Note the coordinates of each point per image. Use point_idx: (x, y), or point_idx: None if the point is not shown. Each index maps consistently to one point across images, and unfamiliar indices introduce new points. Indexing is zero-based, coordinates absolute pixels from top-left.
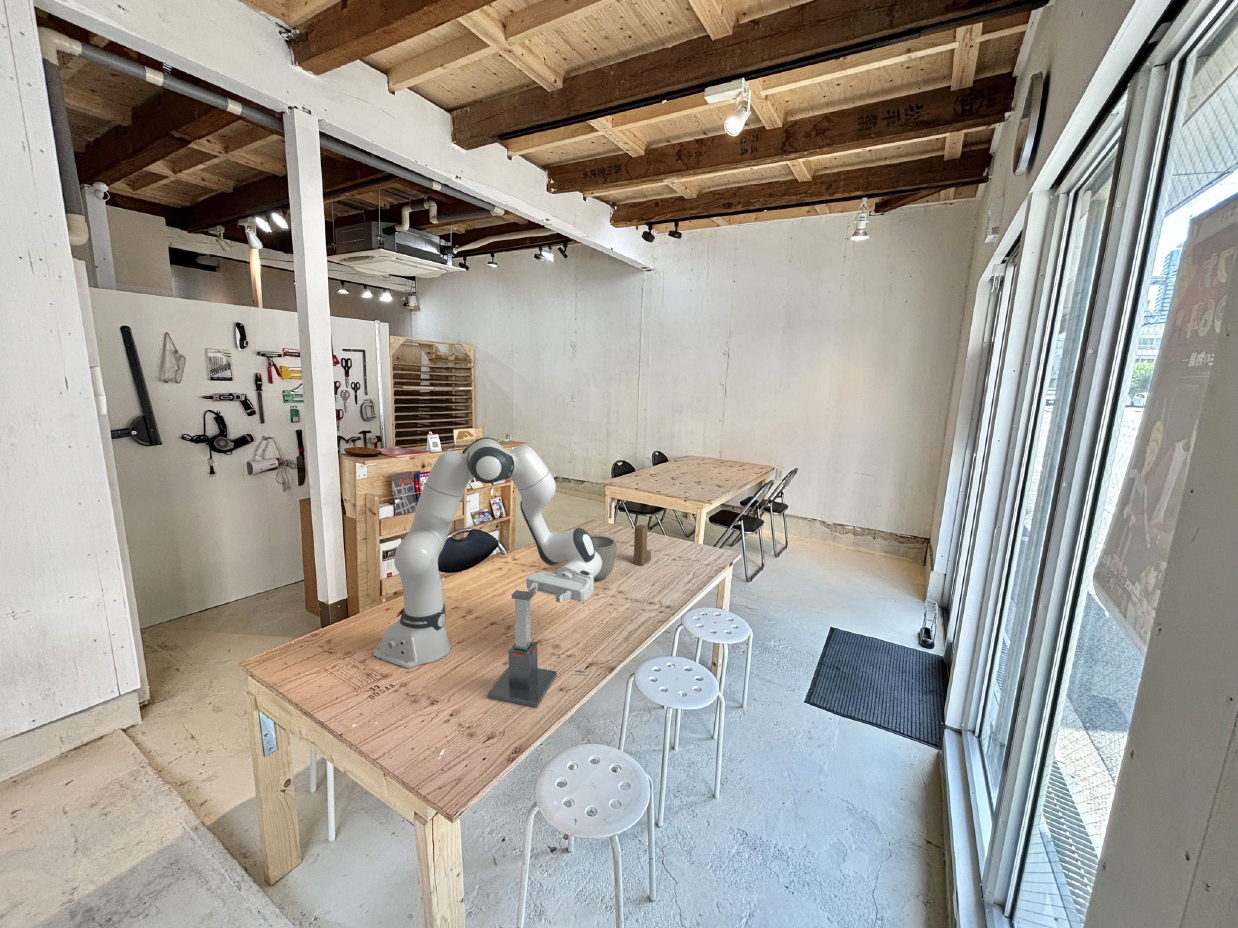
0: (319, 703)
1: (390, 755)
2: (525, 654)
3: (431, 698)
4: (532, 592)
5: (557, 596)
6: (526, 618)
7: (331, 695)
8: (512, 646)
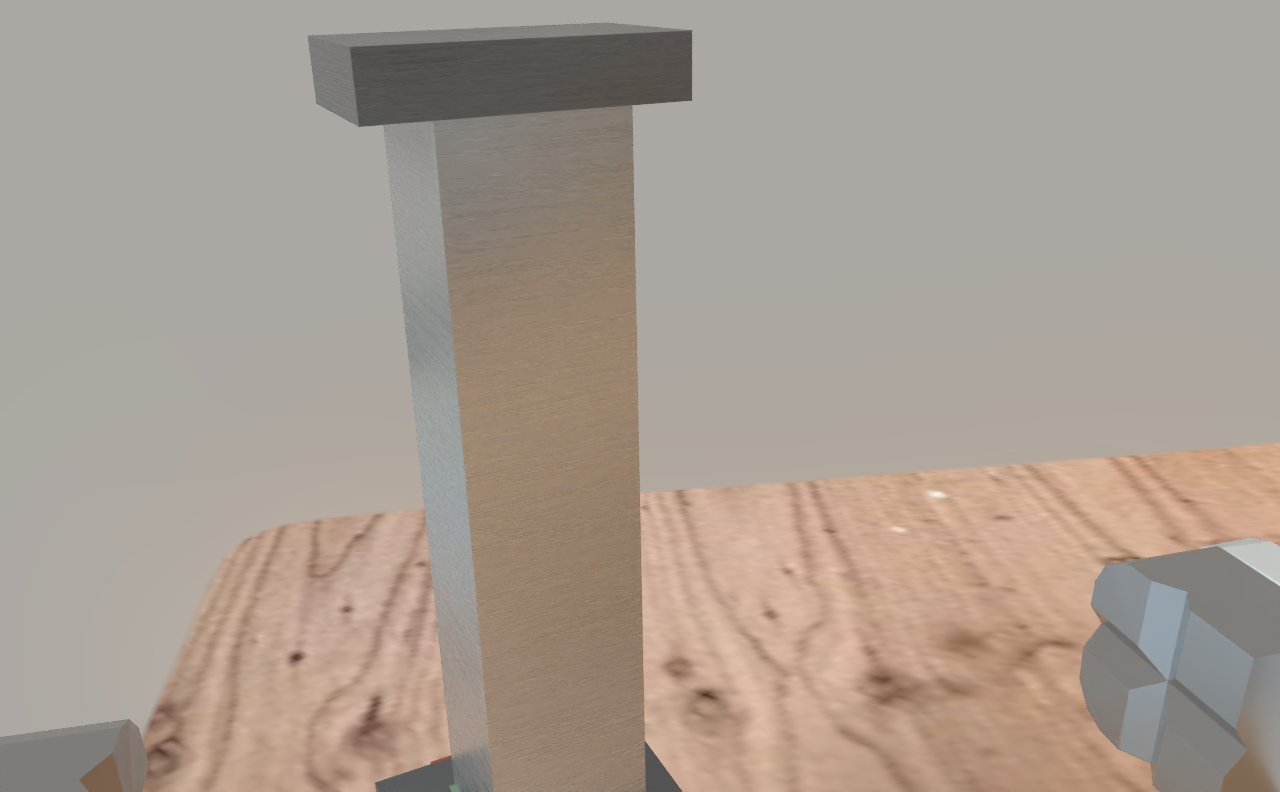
0: (1174, 470)
1: (658, 509)
2: (417, 776)
3: (935, 691)
4: (372, 46)
5: (58, 734)
6: (422, 421)
7: (1222, 496)
8: (656, 761)
